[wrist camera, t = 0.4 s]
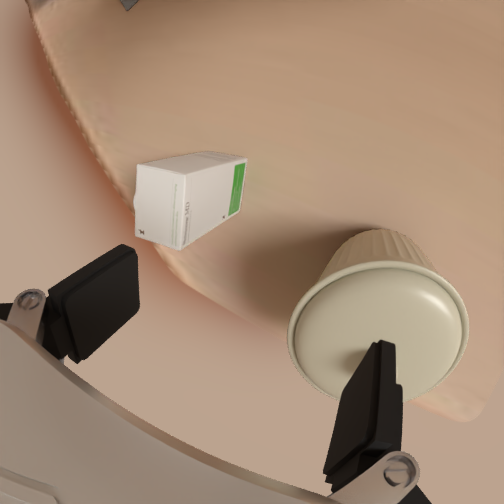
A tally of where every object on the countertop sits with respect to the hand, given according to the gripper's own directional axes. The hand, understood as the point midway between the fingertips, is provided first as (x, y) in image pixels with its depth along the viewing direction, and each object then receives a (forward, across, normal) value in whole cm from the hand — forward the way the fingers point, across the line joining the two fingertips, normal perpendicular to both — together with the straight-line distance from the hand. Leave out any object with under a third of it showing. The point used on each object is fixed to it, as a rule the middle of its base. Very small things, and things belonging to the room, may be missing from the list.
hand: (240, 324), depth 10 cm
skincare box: (+31, +15, +4) cm, 34 cm away
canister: (+31, -10, +10) cm, 34 cm away
